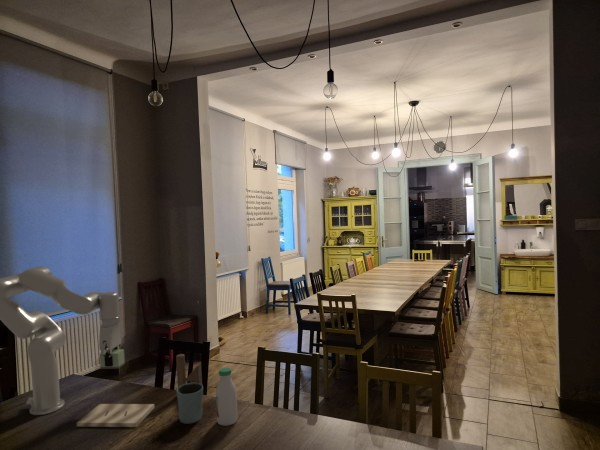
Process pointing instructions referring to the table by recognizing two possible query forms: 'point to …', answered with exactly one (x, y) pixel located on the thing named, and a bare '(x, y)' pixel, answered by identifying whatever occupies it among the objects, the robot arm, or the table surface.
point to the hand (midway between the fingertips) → (112, 363)
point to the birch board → (116, 415)
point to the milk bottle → (226, 399)
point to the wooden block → (181, 374)
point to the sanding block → (117, 359)
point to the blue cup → (190, 402)
